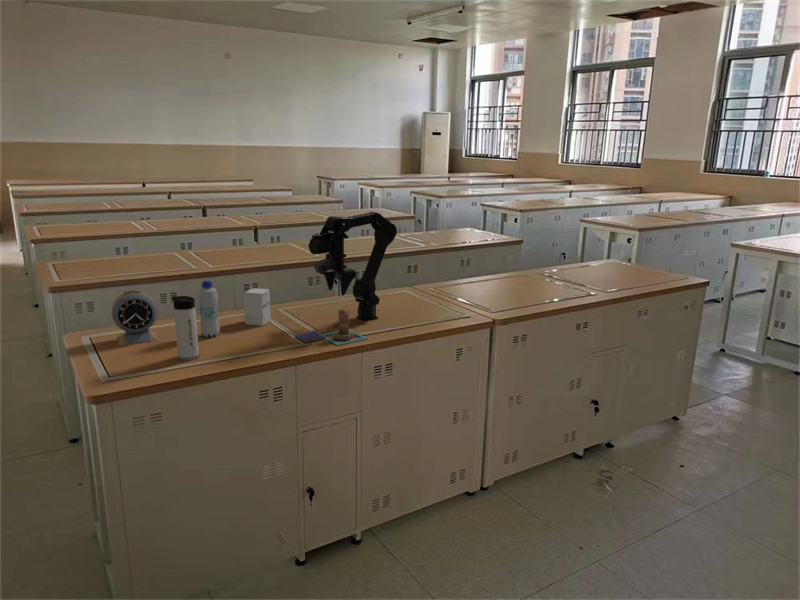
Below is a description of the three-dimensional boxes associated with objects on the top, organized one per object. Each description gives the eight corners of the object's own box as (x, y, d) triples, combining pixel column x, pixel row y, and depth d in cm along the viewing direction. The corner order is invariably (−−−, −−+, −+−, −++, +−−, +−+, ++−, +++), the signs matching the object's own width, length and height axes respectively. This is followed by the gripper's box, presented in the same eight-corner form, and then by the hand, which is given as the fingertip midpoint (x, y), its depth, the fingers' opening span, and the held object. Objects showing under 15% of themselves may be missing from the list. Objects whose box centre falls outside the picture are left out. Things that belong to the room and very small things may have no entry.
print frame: (349, 329, 210) (349, 328, 210) (367, 339, 201) (367, 338, 201) (319, 336, 203) (319, 334, 203) (337, 345, 193) (337, 344, 193)
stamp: (338, 334, 206) (338, 306, 203) (354, 335, 204) (354, 308, 201) (332, 339, 200) (332, 311, 197) (349, 341, 199) (348, 312, 196)
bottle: (224, 333, 203) (220, 279, 198) (212, 339, 197) (208, 283, 192) (208, 331, 206) (204, 277, 200) (196, 337, 199) (192, 281, 194)
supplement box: (263, 326, 213) (261, 293, 209) (245, 324, 214) (243, 292, 211) (271, 320, 220) (270, 288, 216) (253, 319, 221) (252, 287, 218)
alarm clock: (115, 346, 189) (109, 295, 184) (114, 337, 197) (108, 288, 193) (161, 340, 196) (156, 291, 191) (158, 332, 204) (154, 284, 199)
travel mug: (180, 353, 184) (175, 294, 178) (201, 353, 184) (196, 294, 179) (174, 361, 178) (168, 299, 172) (196, 360, 178) (191, 299, 173)
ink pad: (315, 333, 206) (315, 330, 206) (325, 339, 200) (325, 336, 200) (295, 337, 201) (294, 334, 201) (305, 343, 195) (305, 340, 195)
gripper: (304, 249, 210) (305, 290, 214) (329, 257, 195) (330, 301, 199) (330, 246, 216) (331, 286, 220) (357, 254, 202) (357, 297, 206)
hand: (336, 292), depth 211 cm, fingers open, 9 cm apart
